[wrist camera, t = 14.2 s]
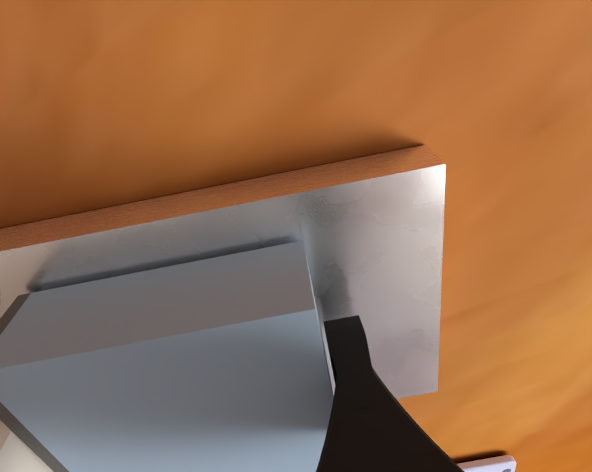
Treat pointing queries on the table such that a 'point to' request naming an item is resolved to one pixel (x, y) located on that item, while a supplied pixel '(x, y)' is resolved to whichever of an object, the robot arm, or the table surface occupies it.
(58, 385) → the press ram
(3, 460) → the block
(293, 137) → the table surface
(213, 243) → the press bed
